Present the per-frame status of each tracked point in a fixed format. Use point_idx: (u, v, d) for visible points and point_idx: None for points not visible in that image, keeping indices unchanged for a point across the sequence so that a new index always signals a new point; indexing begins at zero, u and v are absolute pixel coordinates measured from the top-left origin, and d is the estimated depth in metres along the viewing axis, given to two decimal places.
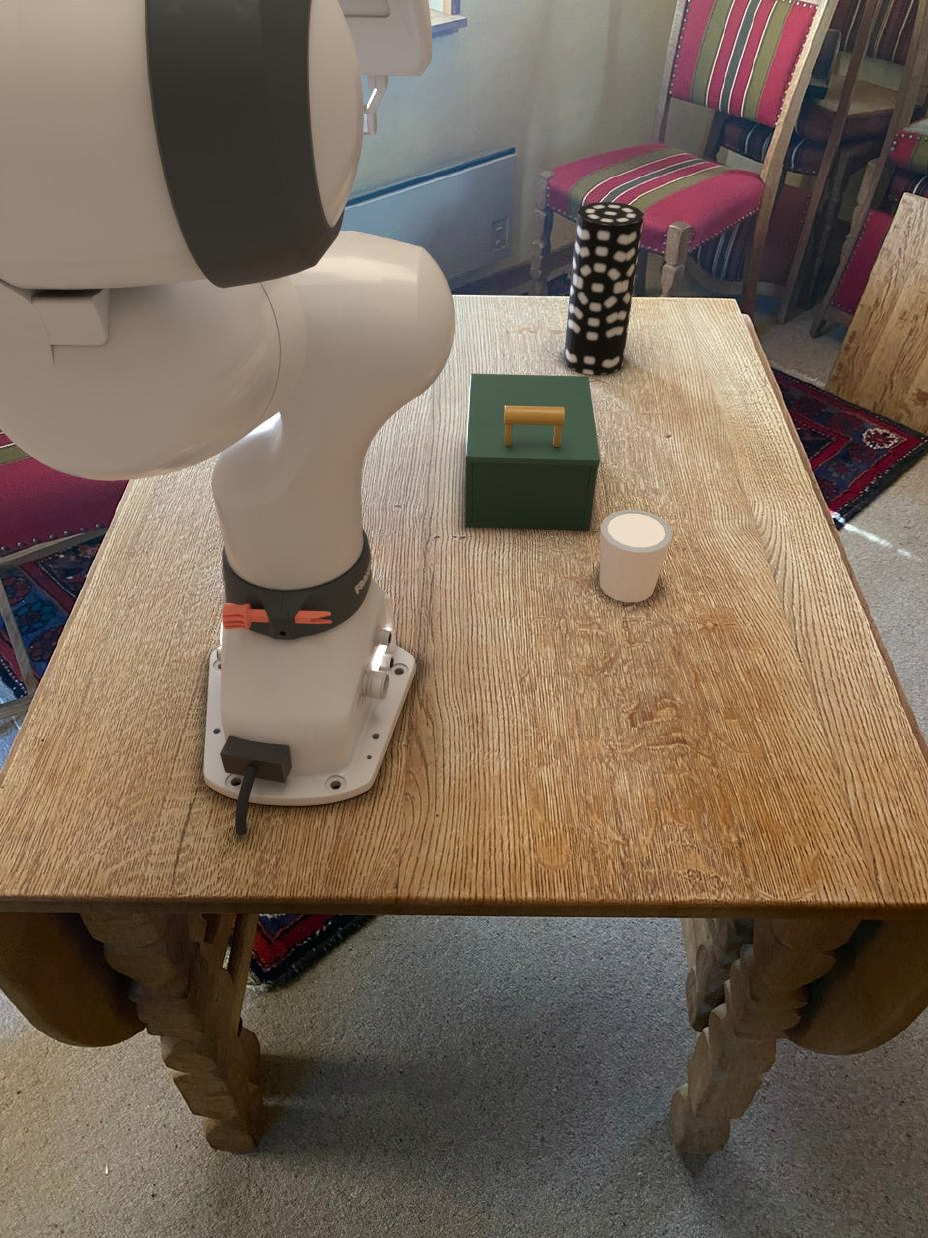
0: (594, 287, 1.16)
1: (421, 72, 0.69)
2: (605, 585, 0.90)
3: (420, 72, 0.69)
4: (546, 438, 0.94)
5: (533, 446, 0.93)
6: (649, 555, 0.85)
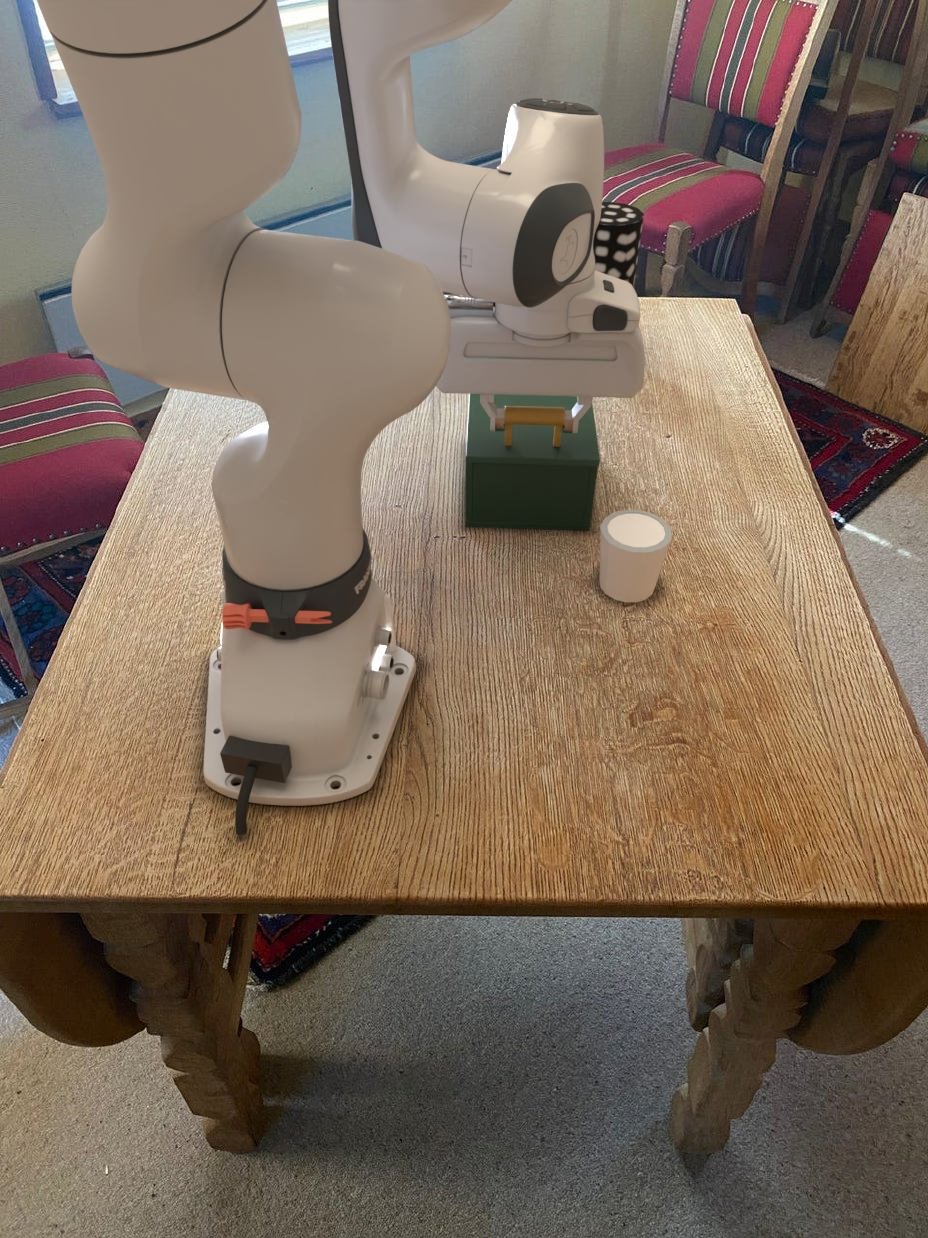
0: None
1: (634, 395, 0.87)
2: (605, 585, 0.90)
3: (633, 395, 0.87)
4: (546, 438, 0.94)
5: (533, 447, 0.93)
6: (649, 555, 0.85)
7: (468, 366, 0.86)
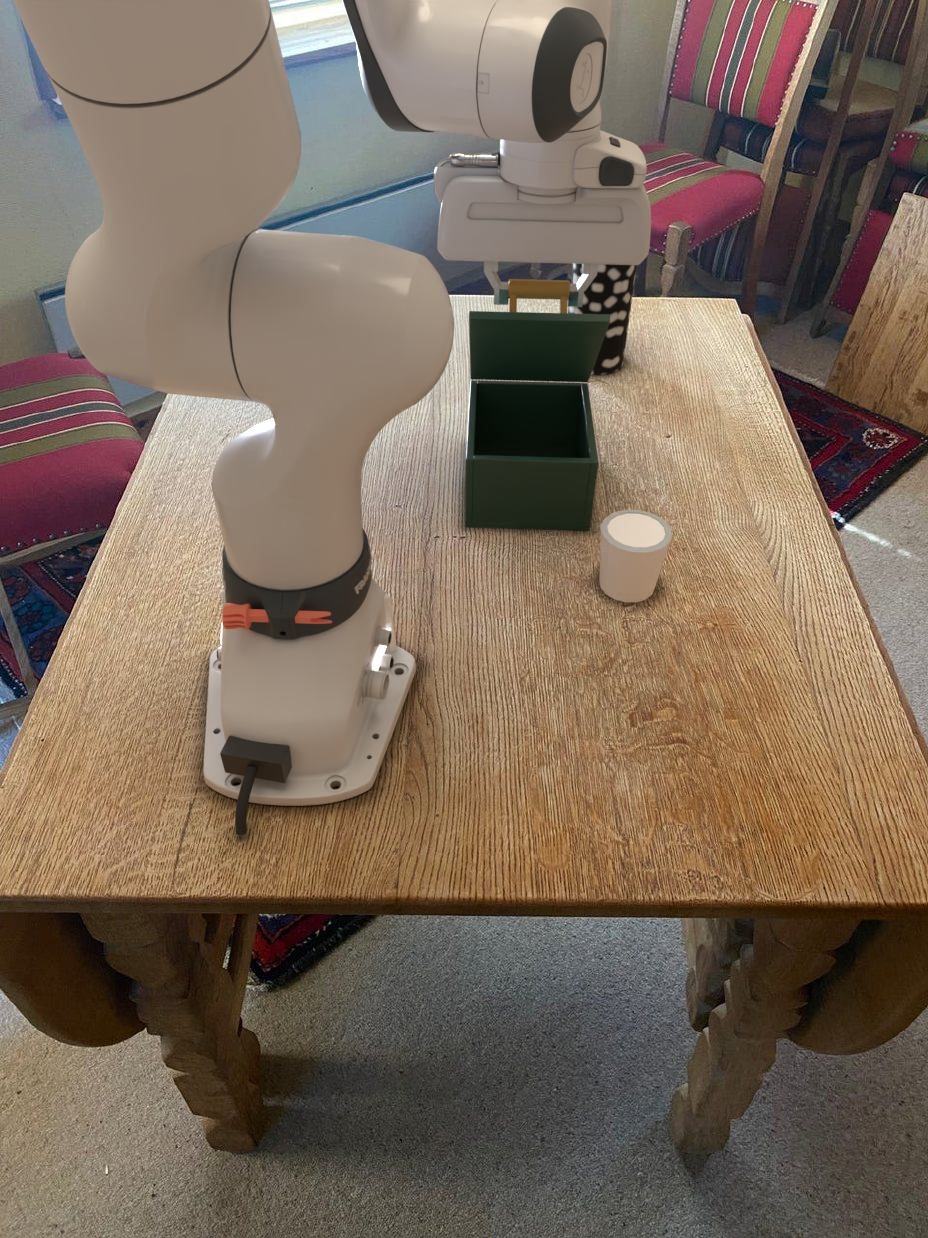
0: (594, 287, 1.16)
1: (640, 262, 0.86)
2: (605, 585, 0.90)
3: (639, 262, 0.86)
4: None
5: None
6: (649, 555, 0.85)
7: (472, 229, 0.85)
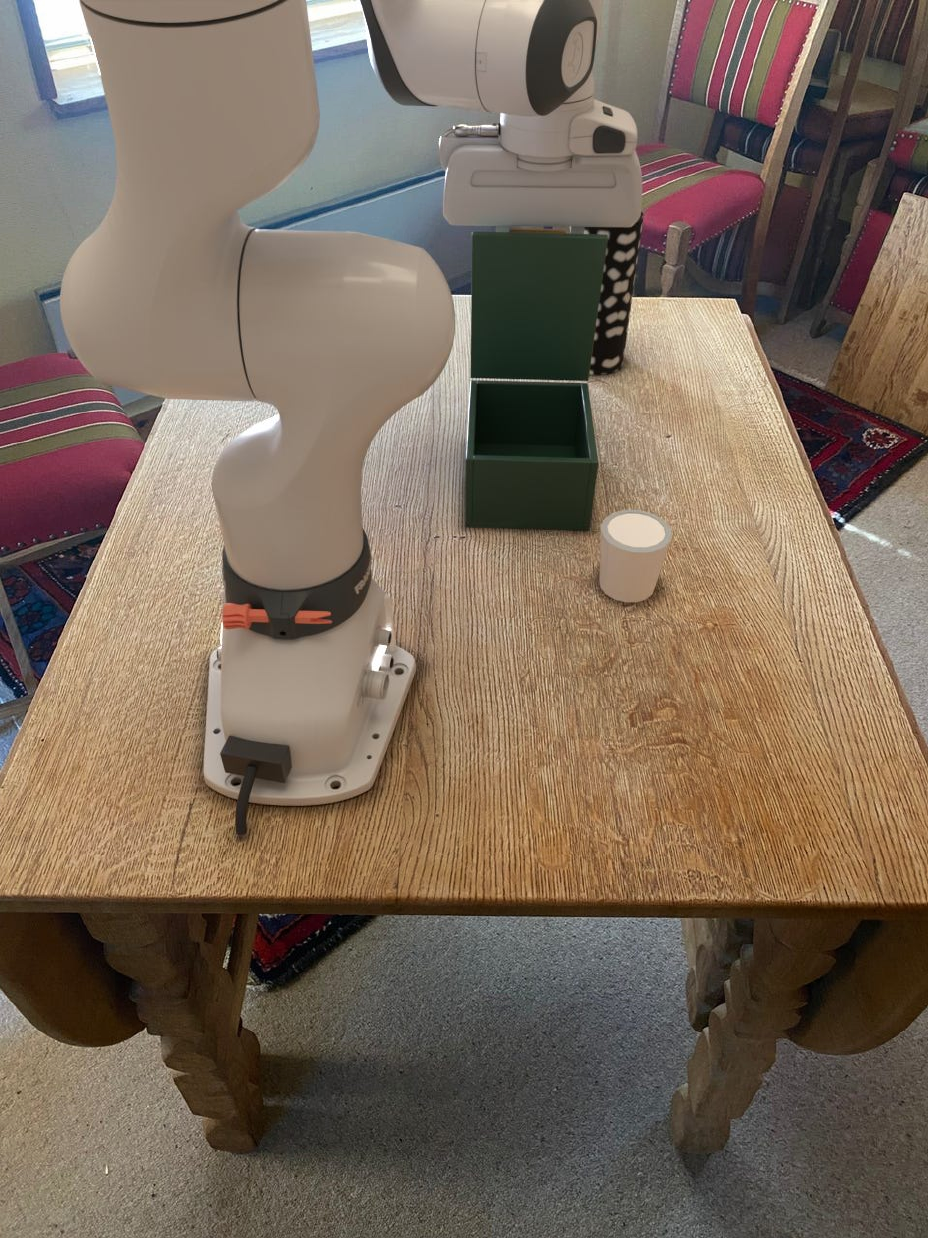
0: None
1: (632, 224, 0.92)
2: (605, 585, 0.90)
3: (632, 224, 0.92)
4: None
5: None
6: (649, 555, 0.85)
7: (475, 196, 0.91)
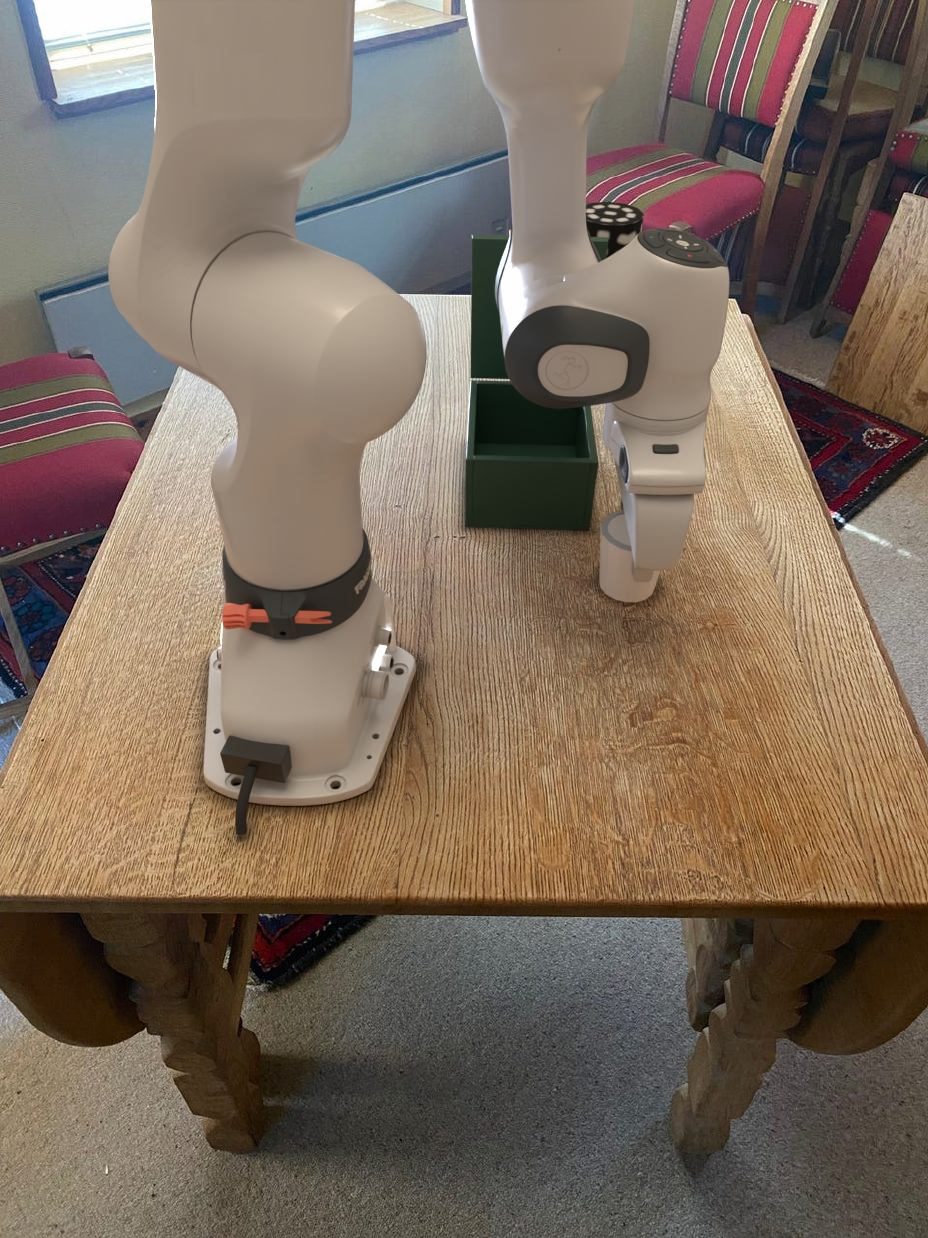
0: None
1: (636, 568, 0.79)
2: (605, 584, 0.90)
3: (635, 567, 0.80)
4: None
5: None
6: None
7: None
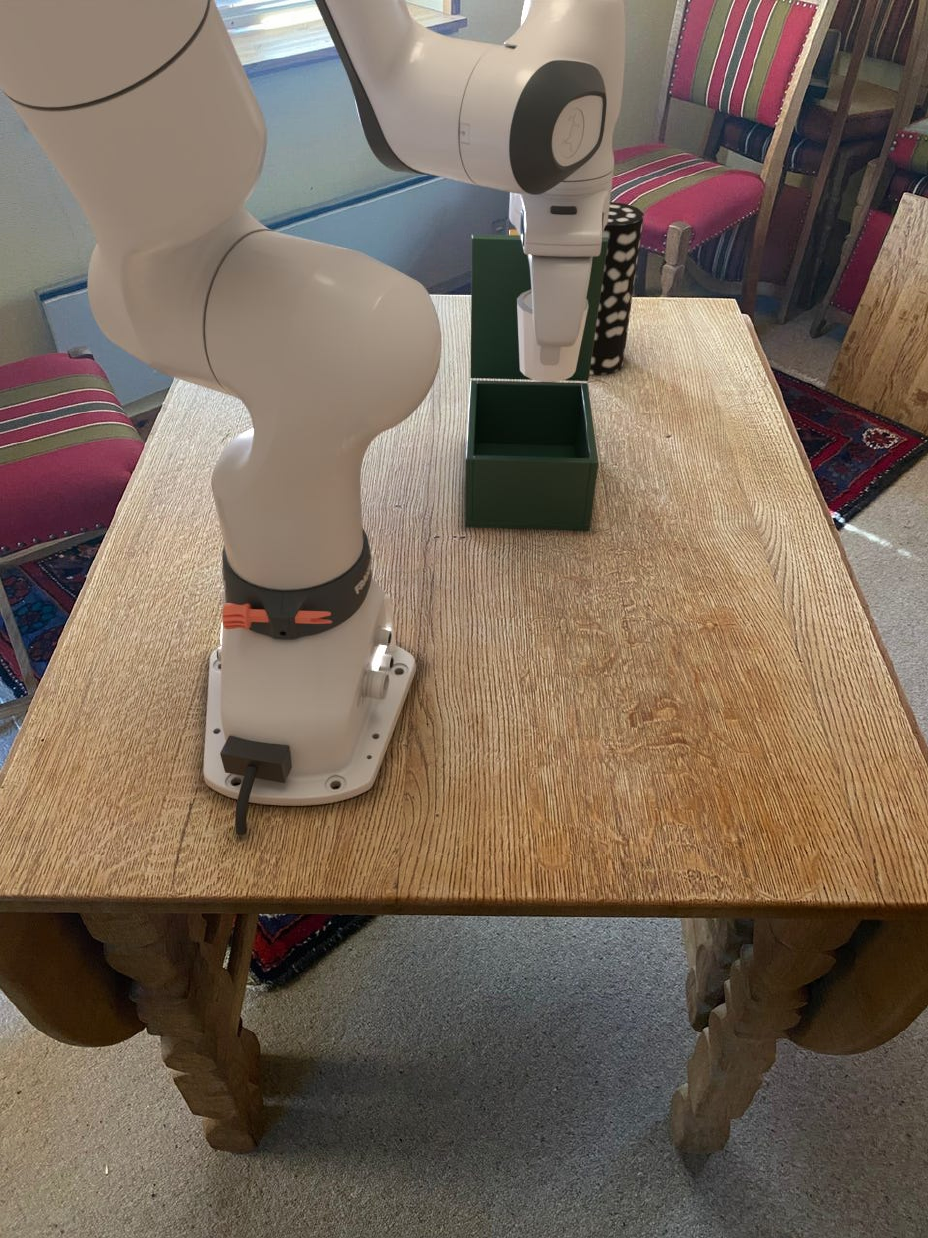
0: None
1: (536, 342, 0.79)
2: (524, 364, 0.89)
3: (536, 342, 0.79)
4: None
5: None
6: None
7: None
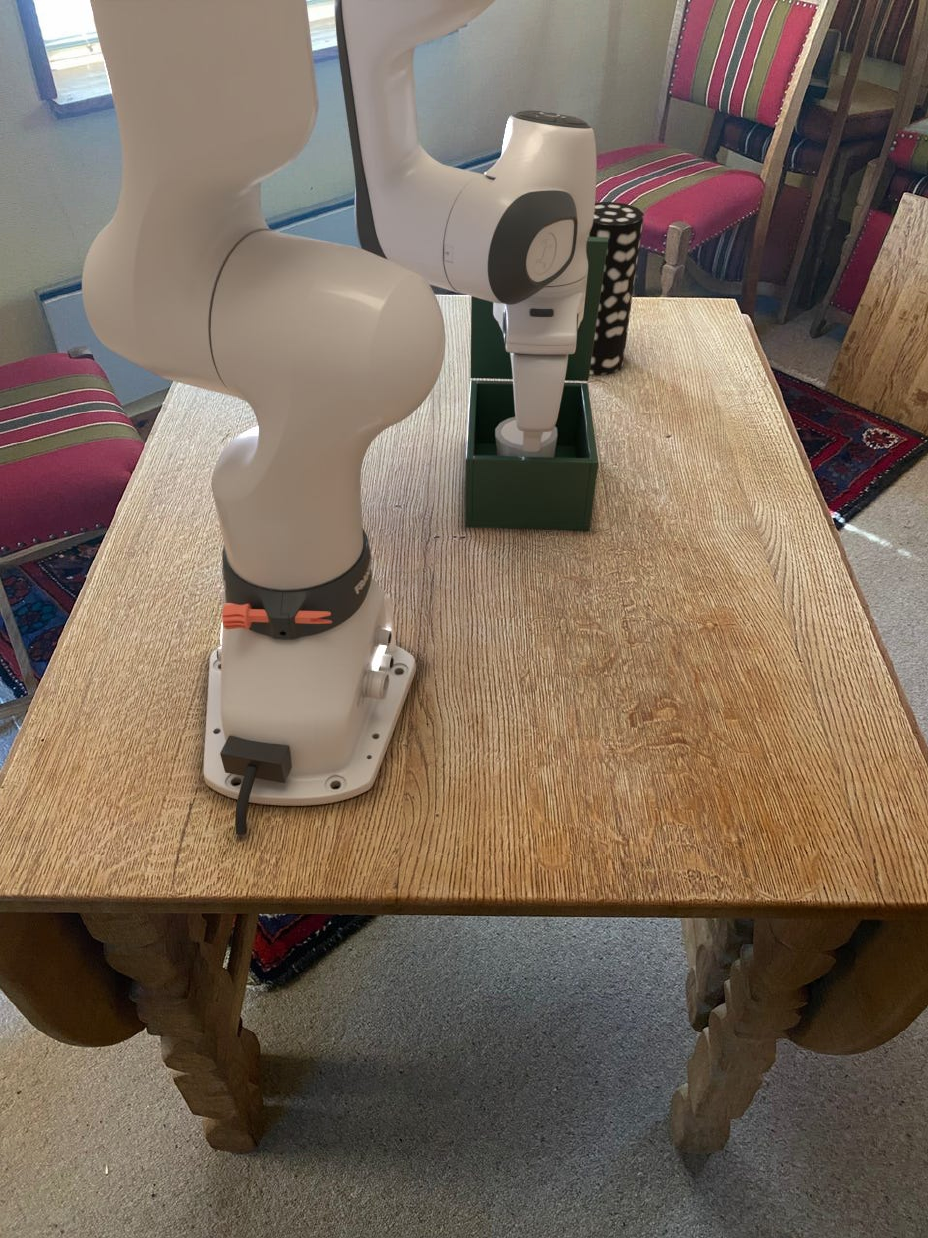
0: None
1: (518, 428, 0.87)
2: None
3: None
4: None
5: None
6: (534, 452, 0.97)
7: None
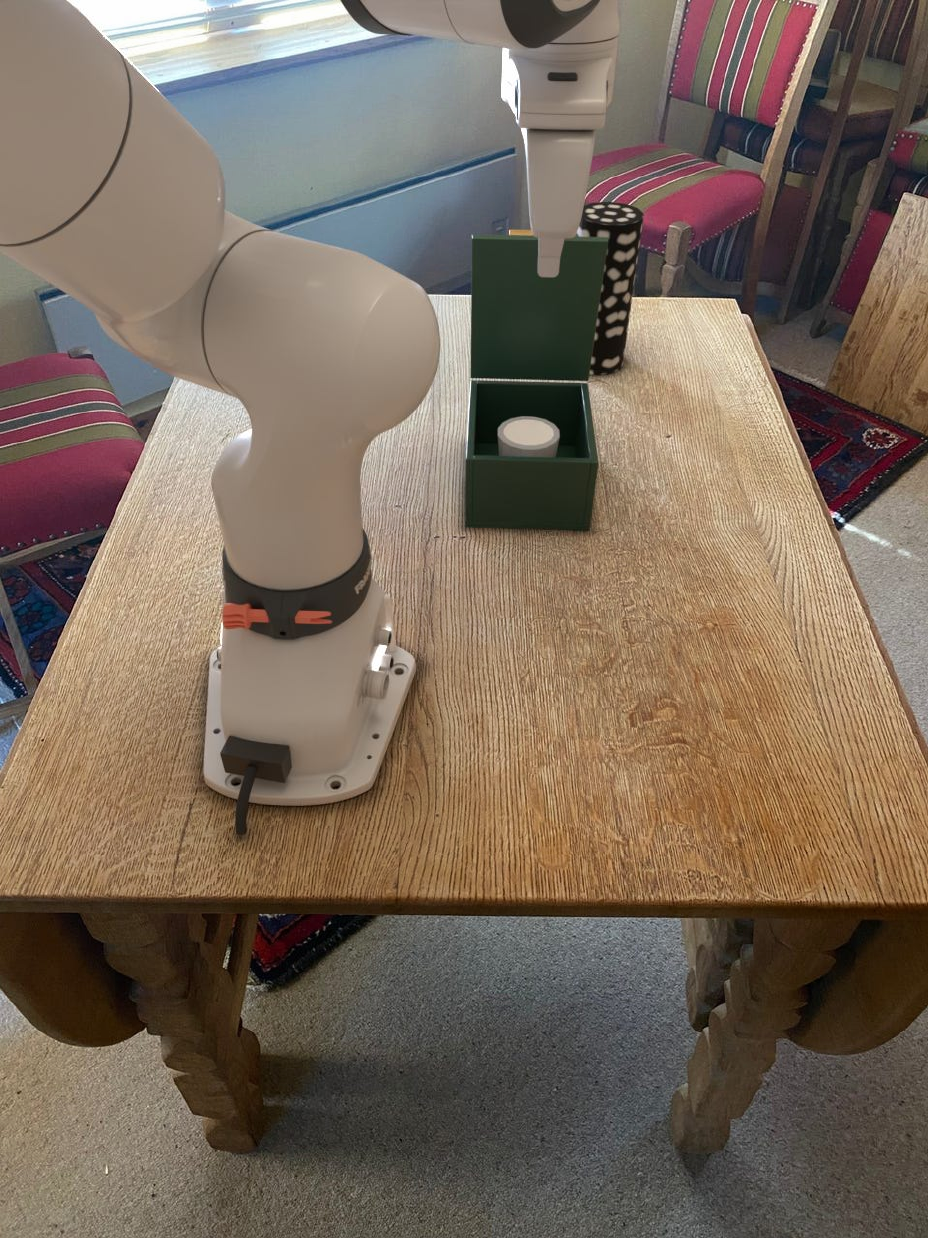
0: None
1: (533, 234, 0.70)
2: None
3: (532, 233, 0.70)
4: None
5: None
6: (537, 452, 0.97)
7: None
